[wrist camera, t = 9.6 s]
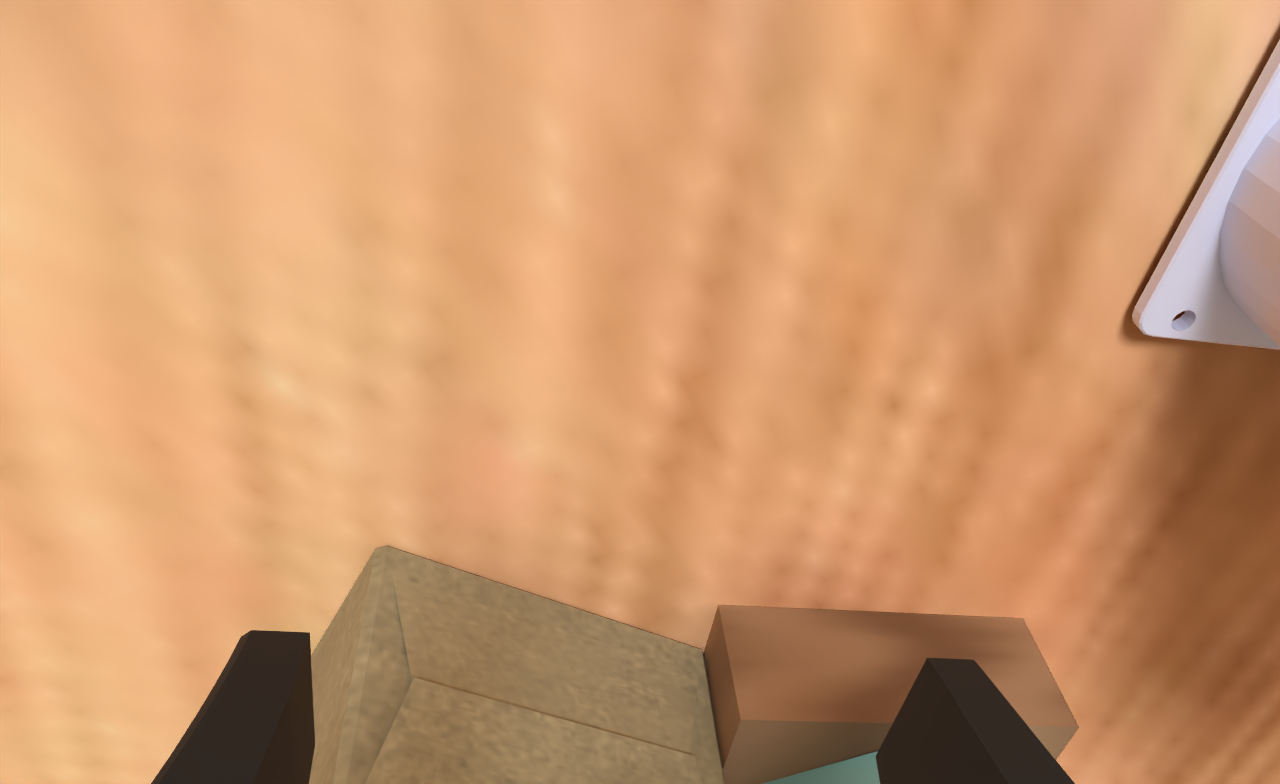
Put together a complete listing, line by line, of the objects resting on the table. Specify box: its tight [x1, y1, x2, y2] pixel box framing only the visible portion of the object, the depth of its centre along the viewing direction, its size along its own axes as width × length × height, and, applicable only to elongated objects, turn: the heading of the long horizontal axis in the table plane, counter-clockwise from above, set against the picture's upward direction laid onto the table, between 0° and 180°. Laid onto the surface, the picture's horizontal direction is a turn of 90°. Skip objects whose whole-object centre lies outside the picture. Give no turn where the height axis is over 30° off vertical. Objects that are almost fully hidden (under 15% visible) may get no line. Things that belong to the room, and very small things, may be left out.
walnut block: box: [703, 605, 1079, 784], centre depth 28 cm, size 9×9×4 cm
